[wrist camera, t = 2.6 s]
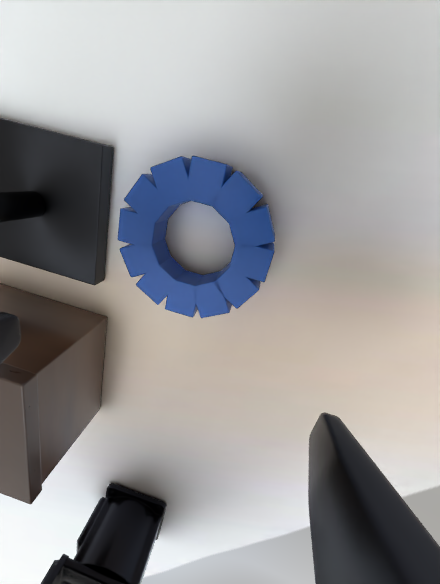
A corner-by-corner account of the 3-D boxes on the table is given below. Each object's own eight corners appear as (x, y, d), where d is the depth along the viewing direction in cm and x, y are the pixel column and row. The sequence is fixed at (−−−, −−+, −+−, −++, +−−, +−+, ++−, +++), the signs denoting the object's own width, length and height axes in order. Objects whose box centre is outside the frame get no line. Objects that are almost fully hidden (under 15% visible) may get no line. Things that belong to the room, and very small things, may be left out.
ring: (294, 182, 16) (296, 182, 14) (250, 318, 19) (247, 334, 17) (144, 143, 17) (126, 138, 15) (128, 282, 20) (112, 293, 18)
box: (110, 315, 22) (22, 385, 14) (102, 411, 26) (30, 505, 18) (-9, 278, 22) (-152, 326, 15) (2, 376, 26) (-106, 453, 19)
